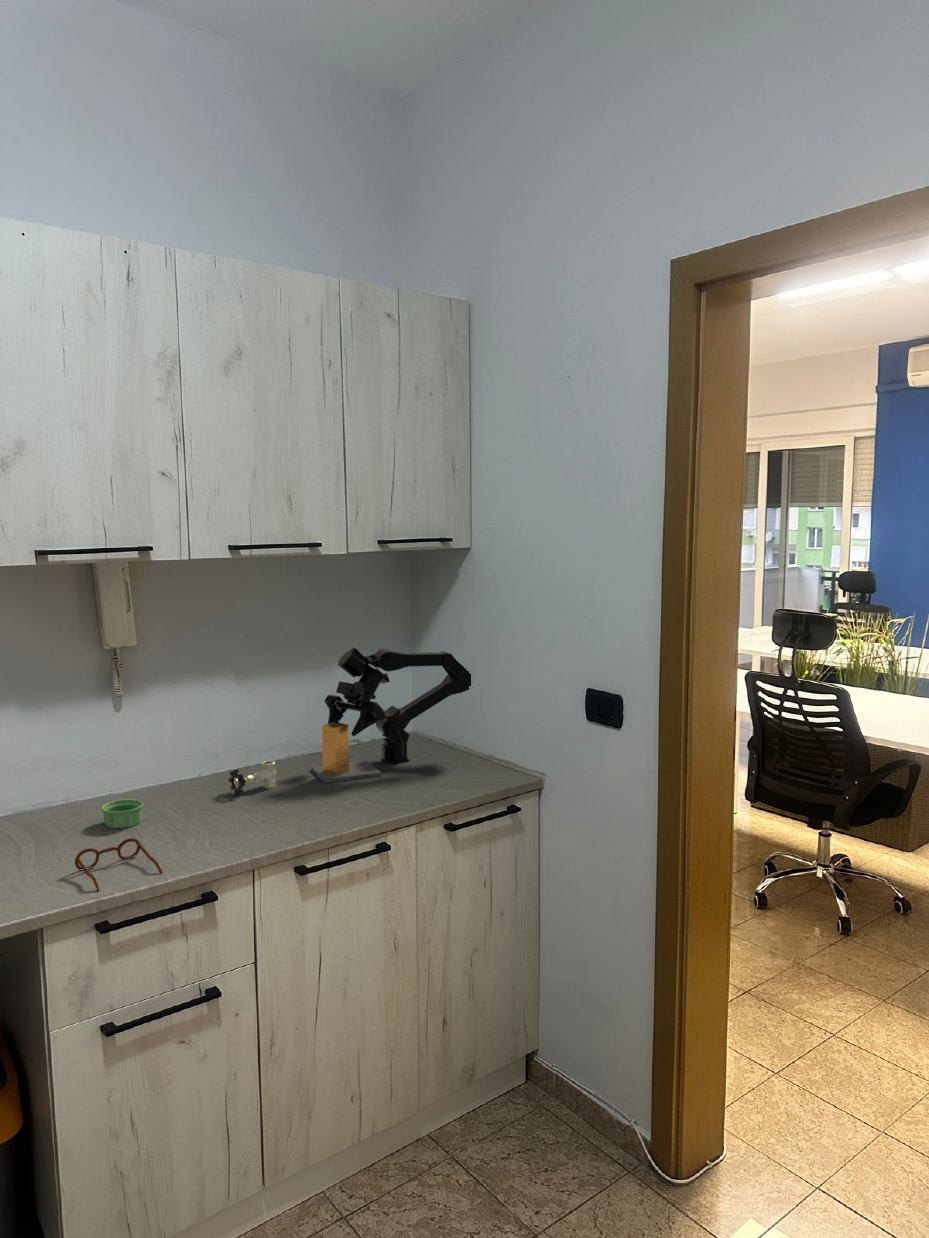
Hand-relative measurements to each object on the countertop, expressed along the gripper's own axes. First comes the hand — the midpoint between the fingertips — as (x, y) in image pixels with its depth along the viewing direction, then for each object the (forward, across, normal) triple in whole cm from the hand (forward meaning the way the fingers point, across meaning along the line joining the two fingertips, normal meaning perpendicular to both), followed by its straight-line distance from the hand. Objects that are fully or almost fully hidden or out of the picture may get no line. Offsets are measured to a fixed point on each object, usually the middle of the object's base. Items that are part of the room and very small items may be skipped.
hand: (340, 732), depth 245 cm
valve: (+25, -8, -8) cm, 27 cm away
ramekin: (+50, -14, -33) cm, 61 cm away
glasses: (+62, +11, -45) cm, 77 cm away
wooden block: (+9, 0, +6) cm, 11 cm away
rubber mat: (+7, +1, +9) cm, 12 cm away
